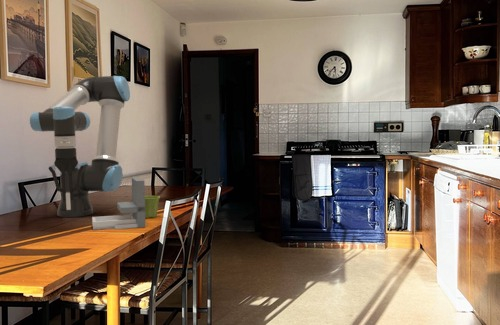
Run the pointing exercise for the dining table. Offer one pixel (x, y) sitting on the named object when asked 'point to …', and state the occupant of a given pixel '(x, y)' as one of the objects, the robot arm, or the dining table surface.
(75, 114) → the robot arm
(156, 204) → the plant pot
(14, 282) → the dining table surface
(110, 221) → the white rectangular slab
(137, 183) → the stand
